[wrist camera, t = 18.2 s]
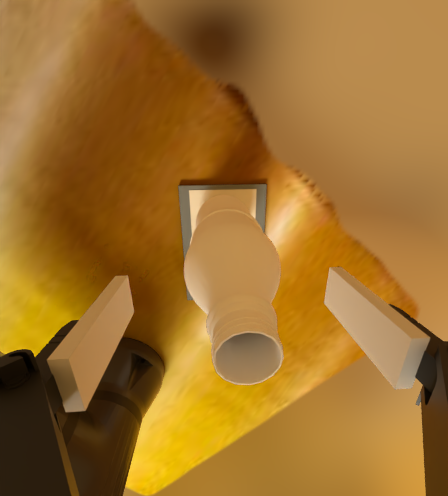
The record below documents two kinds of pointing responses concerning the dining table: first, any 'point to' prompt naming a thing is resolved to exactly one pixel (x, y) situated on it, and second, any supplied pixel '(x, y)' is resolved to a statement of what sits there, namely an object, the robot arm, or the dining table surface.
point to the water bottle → (235, 290)
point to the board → (199, 194)
